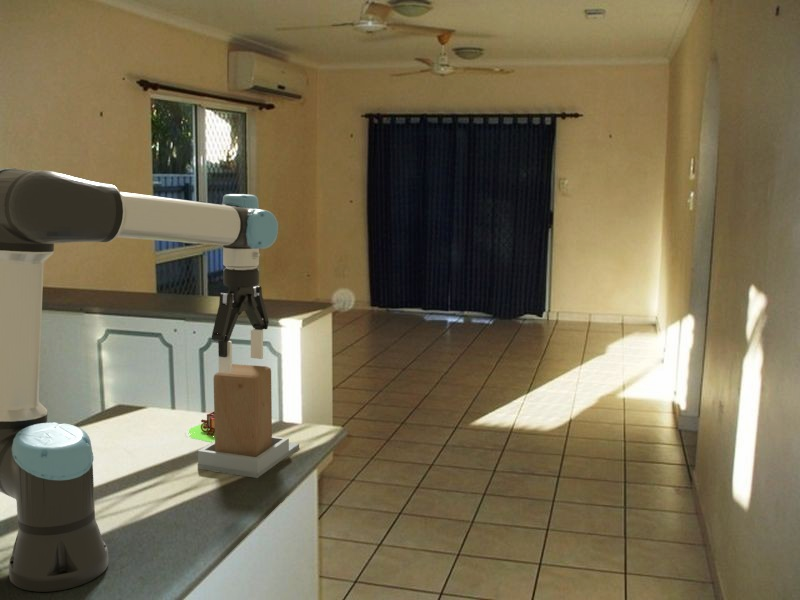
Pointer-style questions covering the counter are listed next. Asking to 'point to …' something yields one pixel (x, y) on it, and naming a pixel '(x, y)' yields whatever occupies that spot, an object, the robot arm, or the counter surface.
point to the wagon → (204, 429)
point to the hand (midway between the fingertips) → (241, 364)
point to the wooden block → (243, 410)
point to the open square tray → (245, 459)
